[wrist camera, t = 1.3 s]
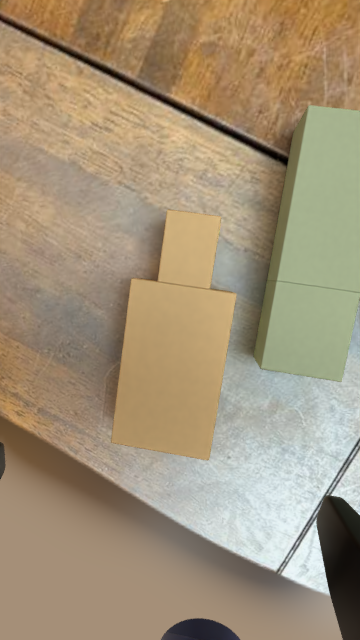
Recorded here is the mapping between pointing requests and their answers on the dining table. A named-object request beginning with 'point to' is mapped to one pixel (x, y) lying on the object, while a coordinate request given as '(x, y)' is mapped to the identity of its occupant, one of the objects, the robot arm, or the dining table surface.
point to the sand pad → (175, 345)
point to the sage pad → (315, 251)
